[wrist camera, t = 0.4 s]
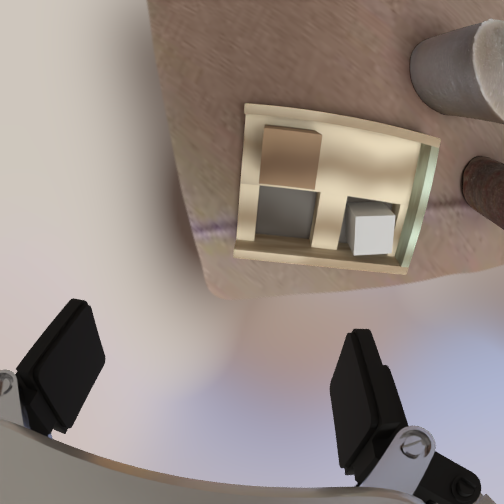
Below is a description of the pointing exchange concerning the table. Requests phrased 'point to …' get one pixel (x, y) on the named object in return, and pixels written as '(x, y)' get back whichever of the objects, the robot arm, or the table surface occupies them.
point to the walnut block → (290, 156)
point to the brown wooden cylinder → (485, 188)
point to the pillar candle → (463, 71)
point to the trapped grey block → (369, 228)
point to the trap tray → (334, 191)
